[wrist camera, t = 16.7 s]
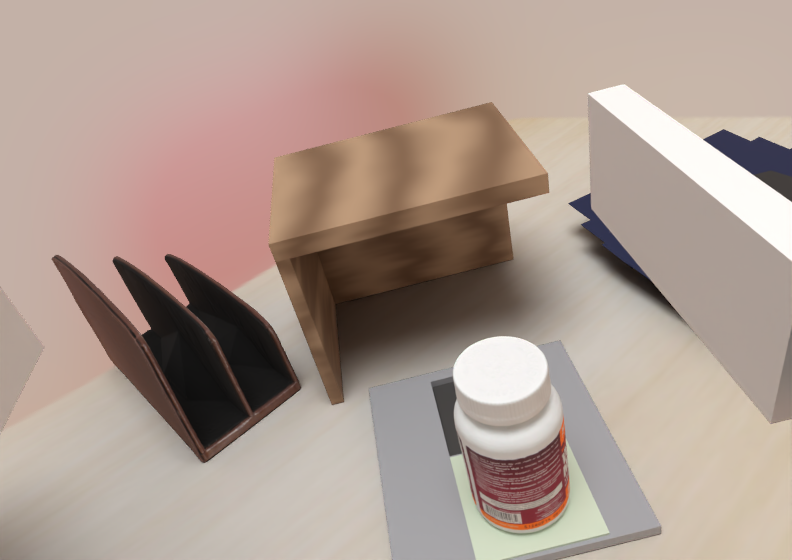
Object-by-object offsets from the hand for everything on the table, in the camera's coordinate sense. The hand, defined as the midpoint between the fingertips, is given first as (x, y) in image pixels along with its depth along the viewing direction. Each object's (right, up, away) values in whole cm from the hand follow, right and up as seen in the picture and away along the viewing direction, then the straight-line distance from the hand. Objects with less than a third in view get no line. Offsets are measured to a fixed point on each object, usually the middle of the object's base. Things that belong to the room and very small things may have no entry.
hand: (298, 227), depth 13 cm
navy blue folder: (+35, 0, +41) cm, 54 cm away
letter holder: (-16, -10, +44) cm, 48 cm away
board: (+9, -13, +31) cm, 34 cm away
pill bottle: (+10, -15, +27) cm, 32 cm away
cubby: (+5, -5, +43) cm, 44 cm away
